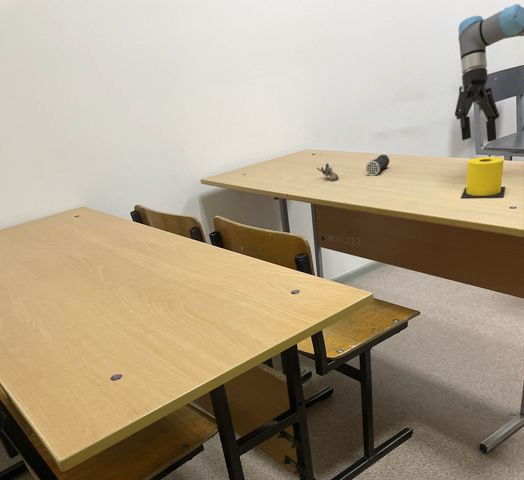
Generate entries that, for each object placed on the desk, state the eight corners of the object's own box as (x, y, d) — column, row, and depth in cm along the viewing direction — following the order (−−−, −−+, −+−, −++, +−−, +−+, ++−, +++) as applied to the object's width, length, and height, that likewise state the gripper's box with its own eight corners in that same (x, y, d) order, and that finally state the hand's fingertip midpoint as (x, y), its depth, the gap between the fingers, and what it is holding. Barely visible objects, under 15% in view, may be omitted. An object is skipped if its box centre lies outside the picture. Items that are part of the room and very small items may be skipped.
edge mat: (505, 187, 168) (505, 186, 168) (503, 197, 159) (503, 196, 159) (465, 188, 173) (465, 187, 173) (460, 198, 164) (461, 197, 164)
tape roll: (483, 186, 172) (486, 155, 167) (507, 190, 163) (511, 159, 159) (459, 192, 169) (461, 161, 164) (482, 197, 160) (485, 165, 156)
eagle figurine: (312, 177, 212) (322, 176, 204) (319, 159, 211) (328, 158, 203) (328, 184, 215) (338, 184, 207) (334, 167, 214) (345, 166, 206)
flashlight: (377, 167, 219) (377, 153, 217) (390, 167, 217) (390, 153, 214) (365, 175, 208) (365, 161, 205) (379, 175, 205) (379, 161, 203)
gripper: (487, 79, 179) (491, 144, 182) (439, 72, 166) (445, 141, 169) (507, 70, 173) (512, 137, 176) (459, 62, 160) (465, 134, 162)
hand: (479, 140), depth 172 cm, fingers open, 13 cm apart
